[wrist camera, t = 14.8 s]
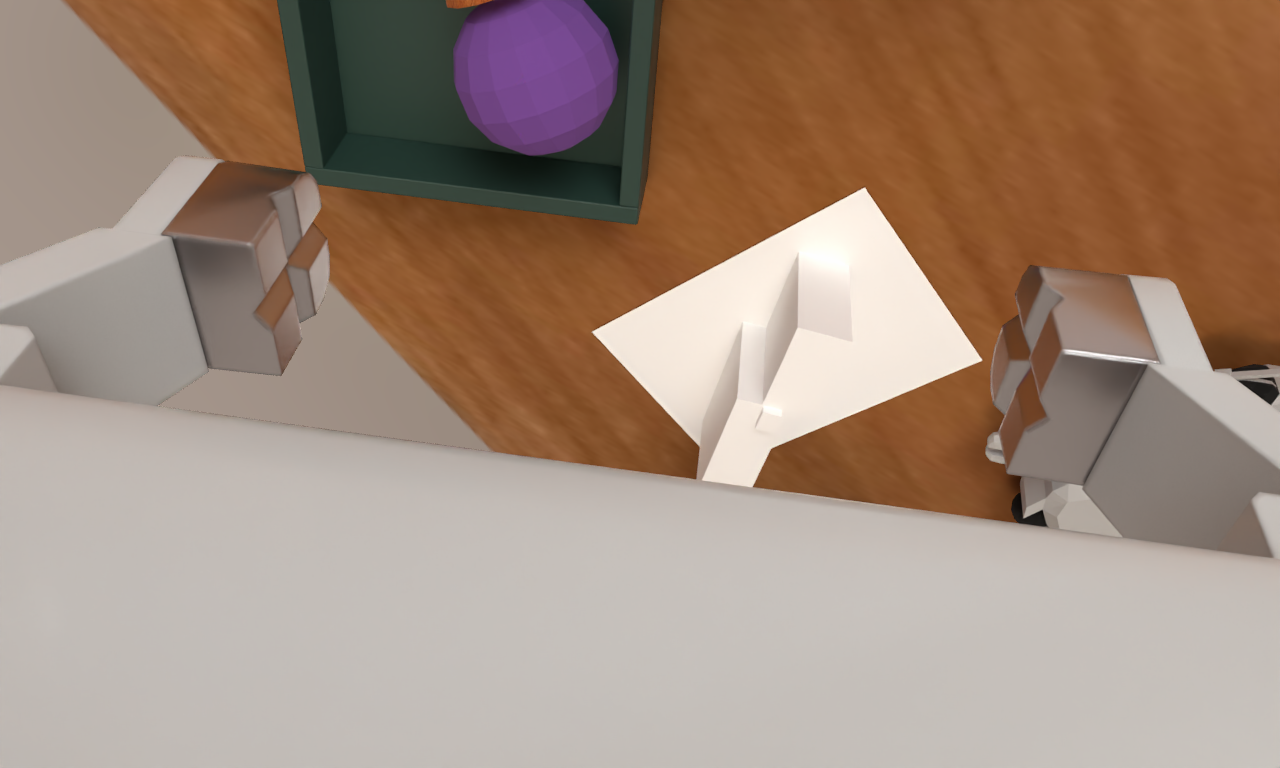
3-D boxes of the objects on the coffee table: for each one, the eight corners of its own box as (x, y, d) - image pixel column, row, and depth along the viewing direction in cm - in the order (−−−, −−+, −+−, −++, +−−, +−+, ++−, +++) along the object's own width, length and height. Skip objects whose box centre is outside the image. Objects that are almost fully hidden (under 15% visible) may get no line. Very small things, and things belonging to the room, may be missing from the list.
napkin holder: (723, 471, 57) (716, 555, 52) (589, 333, 51) (569, 414, 47) (985, 359, 49) (1002, 445, 45) (862, 183, 44) (867, 263, 40)
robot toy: (1043, 541, 59) (1358, 483, 51) (1051, 609, 55) (1387, 558, 48) (969, 392, 52) (1317, 303, 45) (972, 460, 49) (1348, 375, 42)
